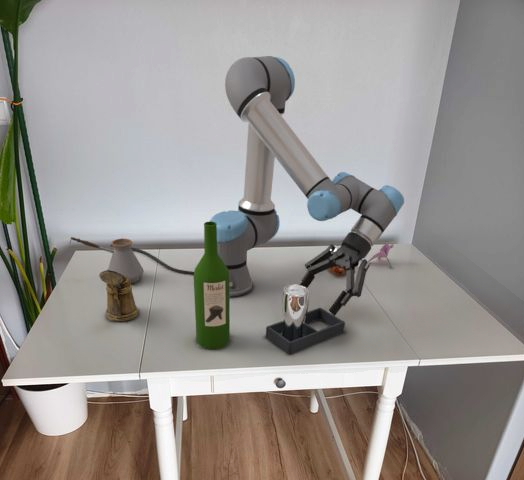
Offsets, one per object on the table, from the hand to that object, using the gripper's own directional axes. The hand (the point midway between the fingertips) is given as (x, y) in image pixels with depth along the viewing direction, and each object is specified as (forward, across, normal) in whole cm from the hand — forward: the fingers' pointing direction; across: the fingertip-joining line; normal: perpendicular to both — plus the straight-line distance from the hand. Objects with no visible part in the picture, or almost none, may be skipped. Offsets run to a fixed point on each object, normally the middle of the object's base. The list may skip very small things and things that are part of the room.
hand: (314, 303), depth 135 cm
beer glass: (+12, 0, -2) cm, 12 cm away
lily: (-31, +22, -44) cm, 59 cm away
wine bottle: (+24, +12, +11) cm, 29 cm away
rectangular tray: (+8, 0, -5) cm, 10 cm away
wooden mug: (+36, +36, +22) cm, 55 cm away
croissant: (-20, +29, -34) cm, 49 cm away
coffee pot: (+30, +62, +17) cm, 71 cm away
